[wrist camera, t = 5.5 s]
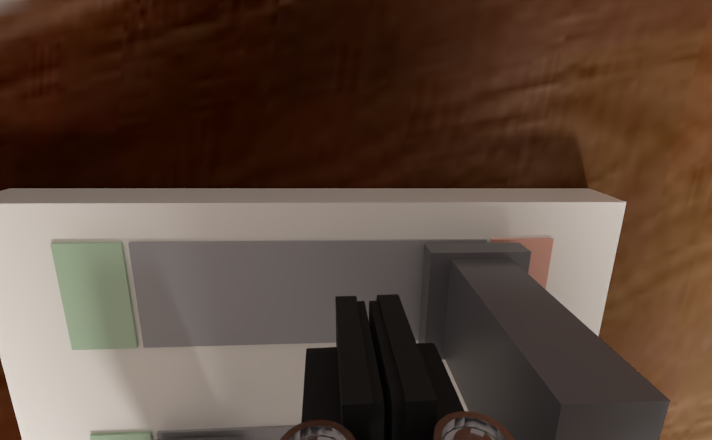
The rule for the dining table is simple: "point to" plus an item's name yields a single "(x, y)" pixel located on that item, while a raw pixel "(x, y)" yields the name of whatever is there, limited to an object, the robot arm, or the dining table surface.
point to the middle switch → (211, 438)
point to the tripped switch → (528, 351)
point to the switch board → (241, 292)
